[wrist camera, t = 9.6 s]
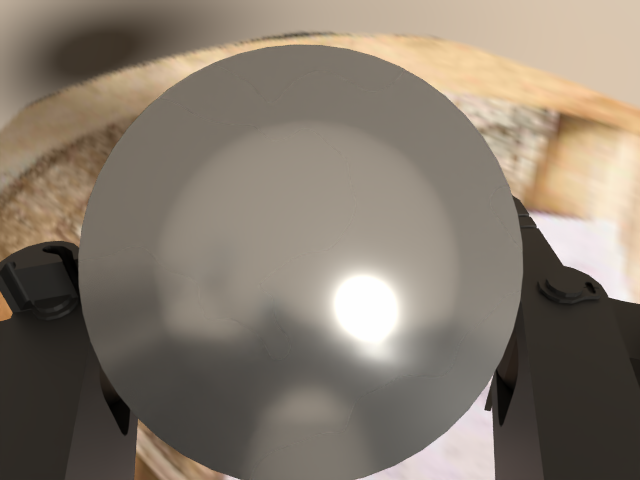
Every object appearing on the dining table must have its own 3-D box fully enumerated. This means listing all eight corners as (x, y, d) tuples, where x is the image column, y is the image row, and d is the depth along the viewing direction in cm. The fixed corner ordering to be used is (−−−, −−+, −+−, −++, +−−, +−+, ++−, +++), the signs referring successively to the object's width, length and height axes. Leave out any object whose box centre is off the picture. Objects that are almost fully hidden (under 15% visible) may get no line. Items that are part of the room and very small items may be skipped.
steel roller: (248, 371, 16) (65, 491, 5) (248, 224, 17) (89, 52, 6) (397, 367, 16) (545, 482, 5) (390, 220, 17) (502, 36, 6)
